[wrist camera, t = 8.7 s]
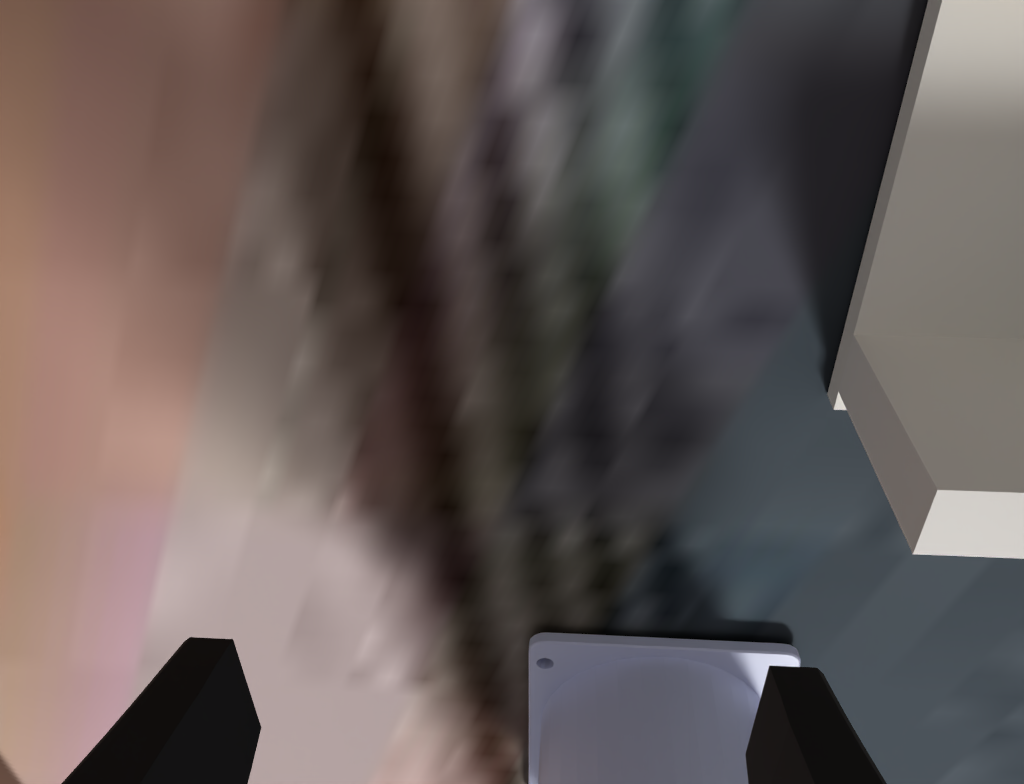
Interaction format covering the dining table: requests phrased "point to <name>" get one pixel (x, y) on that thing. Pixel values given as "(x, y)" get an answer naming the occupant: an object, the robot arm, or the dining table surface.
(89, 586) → the dining table surface
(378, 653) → the dining table surface
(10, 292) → the dining table surface
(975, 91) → the cleat board
